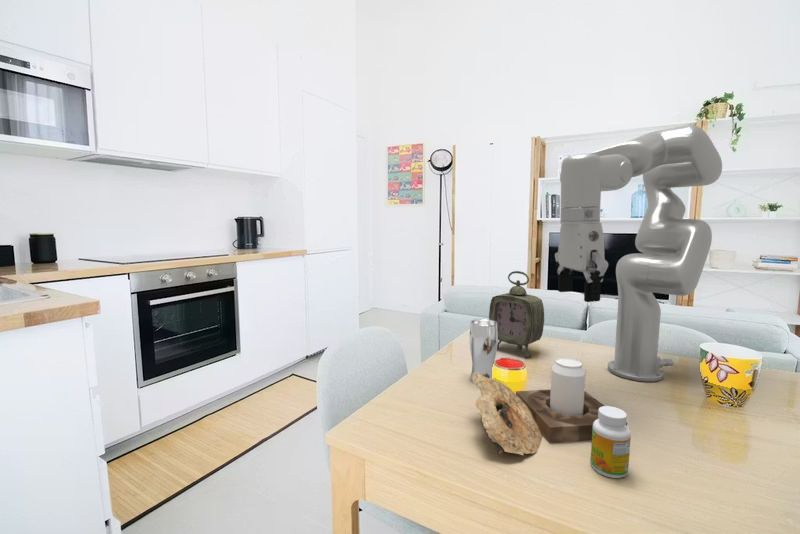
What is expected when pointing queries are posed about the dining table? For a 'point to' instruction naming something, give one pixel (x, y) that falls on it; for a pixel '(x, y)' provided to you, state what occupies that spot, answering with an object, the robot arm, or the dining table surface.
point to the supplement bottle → (610, 443)
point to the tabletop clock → (518, 316)
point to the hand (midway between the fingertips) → (577, 296)
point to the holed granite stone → (506, 417)
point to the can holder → (561, 417)
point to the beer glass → (483, 346)
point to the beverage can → (567, 387)
